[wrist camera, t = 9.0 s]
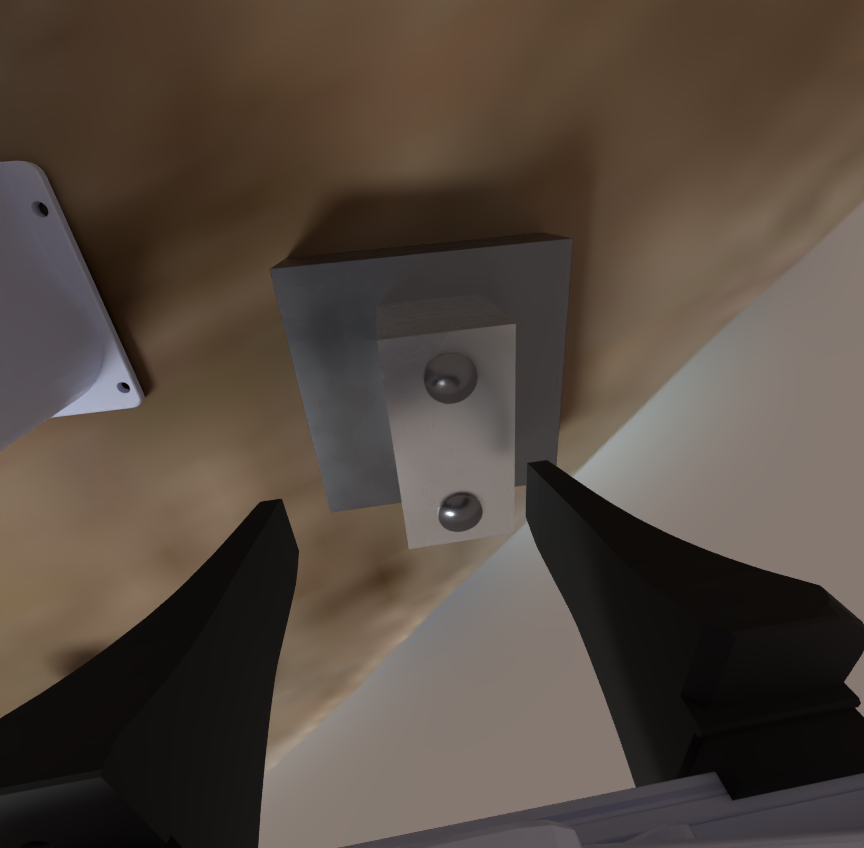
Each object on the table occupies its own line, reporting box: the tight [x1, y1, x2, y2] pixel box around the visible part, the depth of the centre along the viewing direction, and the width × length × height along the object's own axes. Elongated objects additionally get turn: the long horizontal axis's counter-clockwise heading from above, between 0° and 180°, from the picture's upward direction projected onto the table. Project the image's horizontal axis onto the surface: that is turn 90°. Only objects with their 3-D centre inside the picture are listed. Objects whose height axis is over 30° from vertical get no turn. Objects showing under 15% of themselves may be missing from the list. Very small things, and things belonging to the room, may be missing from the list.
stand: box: [270, 233, 573, 512], centre depth 19 cm, size 11×11×3 cm
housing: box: [376, 293, 516, 549], centre depth 16 cm, size 8×4×5 cm, turn 5°
